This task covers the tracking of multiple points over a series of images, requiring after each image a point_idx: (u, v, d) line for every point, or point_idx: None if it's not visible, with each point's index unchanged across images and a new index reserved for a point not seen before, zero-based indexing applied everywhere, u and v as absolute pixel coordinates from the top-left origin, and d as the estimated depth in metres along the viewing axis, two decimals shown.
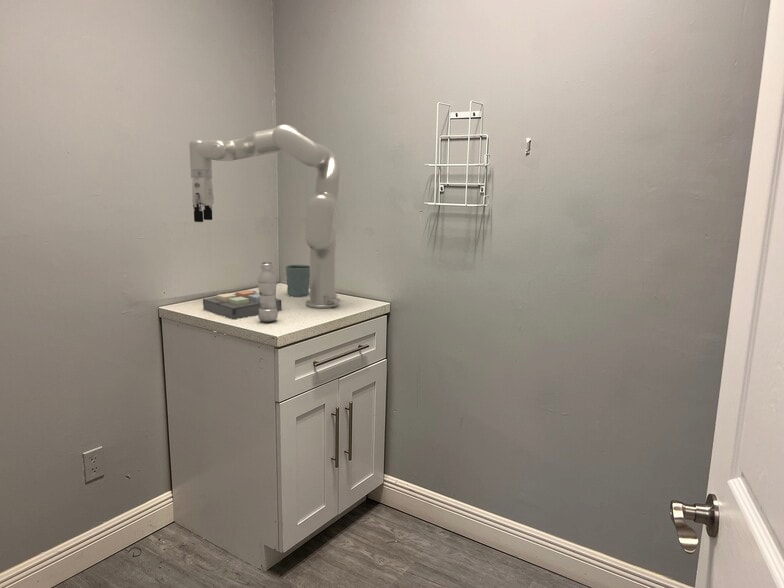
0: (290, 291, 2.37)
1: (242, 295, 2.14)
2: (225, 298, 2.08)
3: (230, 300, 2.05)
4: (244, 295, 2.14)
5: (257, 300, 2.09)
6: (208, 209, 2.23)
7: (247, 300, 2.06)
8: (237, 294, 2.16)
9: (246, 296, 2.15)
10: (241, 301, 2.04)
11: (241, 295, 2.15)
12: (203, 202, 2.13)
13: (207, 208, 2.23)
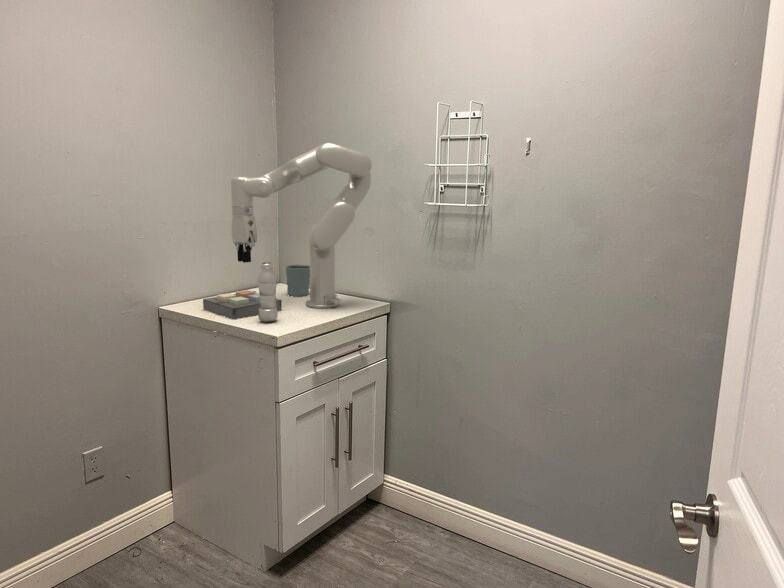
0: (290, 291, 2.37)
1: (242, 295, 2.14)
2: (225, 298, 2.08)
3: (230, 300, 2.05)
4: (244, 295, 2.14)
5: (257, 300, 2.09)
6: (243, 248, 2.15)
7: (247, 300, 2.06)
8: (237, 294, 2.16)
9: (246, 296, 2.15)
10: (241, 301, 2.04)
11: (241, 295, 2.15)
12: (256, 239, 2.11)
13: (241, 248, 2.15)
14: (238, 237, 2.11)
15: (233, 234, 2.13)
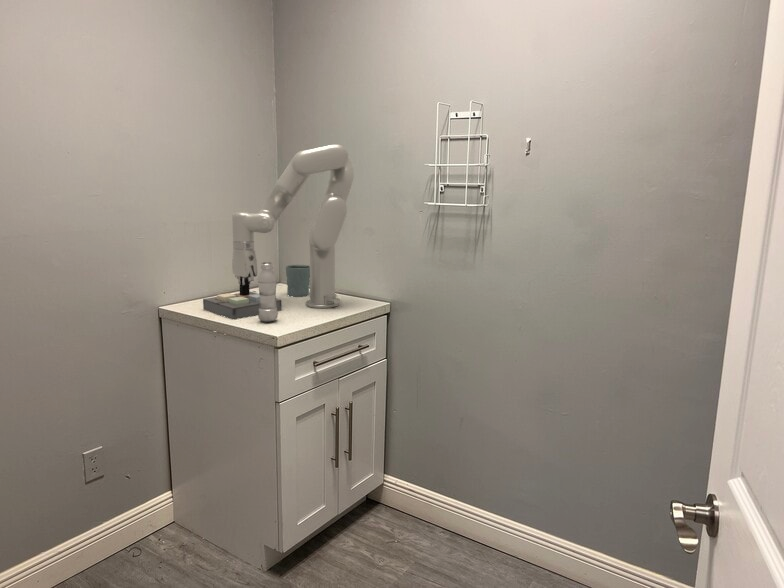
0: (290, 291, 2.37)
1: None
2: (225, 298, 2.08)
3: (230, 300, 2.05)
4: None
5: (257, 300, 2.09)
6: None
7: (247, 300, 2.06)
8: None
9: None
10: (241, 301, 2.04)
11: None
12: (256, 274, 2.14)
13: None
14: (239, 271, 2.14)
15: (234, 268, 2.16)
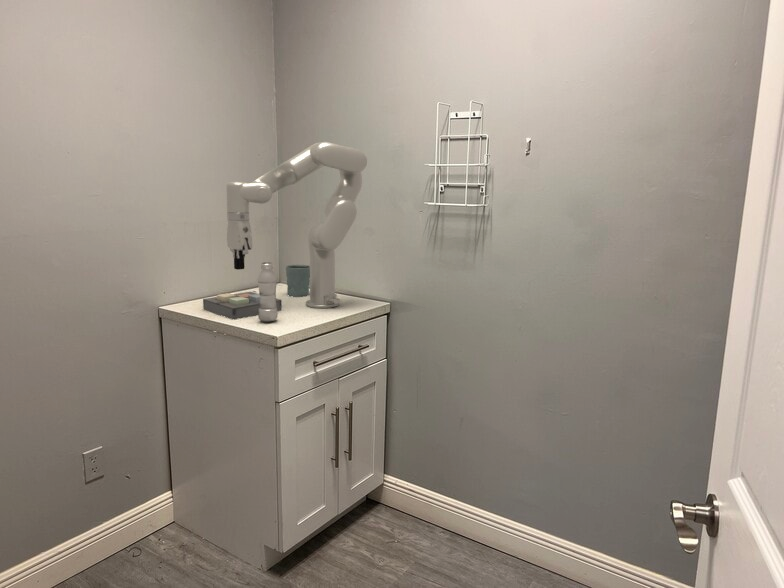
0: (290, 291, 2.37)
1: None
2: (225, 298, 2.08)
3: (230, 300, 2.05)
4: None
5: (257, 300, 2.09)
6: None
7: (247, 300, 2.06)
8: None
9: None
10: (241, 301, 2.04)
11: None
12: (251, 246, 2.05)
13: None
14: (233, 244, 2.05)
15: (228, 241, 2.07)
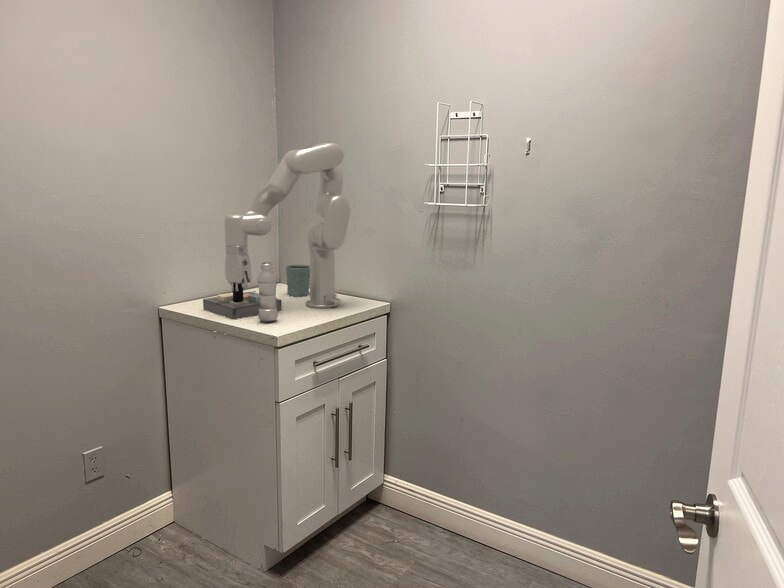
0: (290, 291, 2.37)
1: None
2: (225, 298, 2.08)
3: (230, 303, 2.05)
4: None
5: (257, 300, 2.09)
6: None
7: None
8: None
9: None
10: (241, 304, 2.04)
11: None
12: (250, 279, 2.03)
13: None
14: (232, 277, 2.03)
15: (227, 273, 2.05)
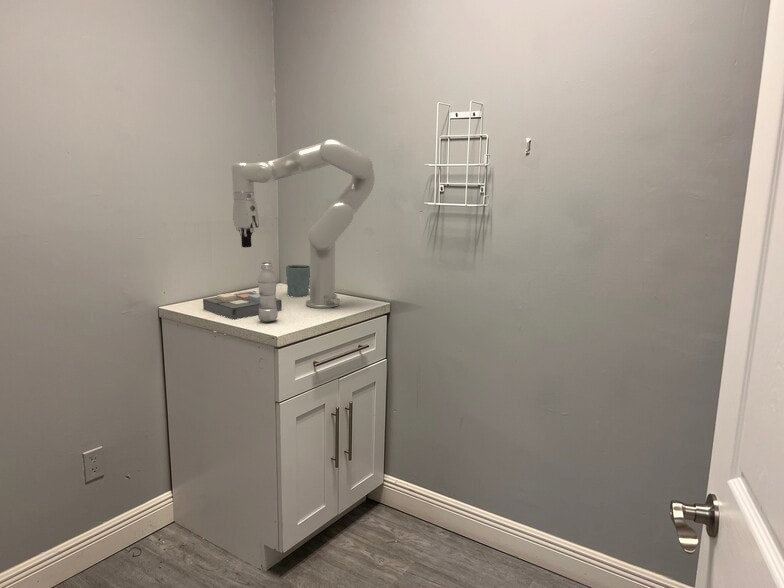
0: (290, 291, 2.37)
1: None
2: (225, 298, 2.08)
3: (230, 303, 2.05)
4: None
5: (257, 300, 2.09)
6: None
7: None
8: None
9: None
10: (241, 304, 2.04)
11: None
12: (258, 224, 2.13)
13: None
14: (240, 223, 2.13)
15: (235, 220, 2.15)
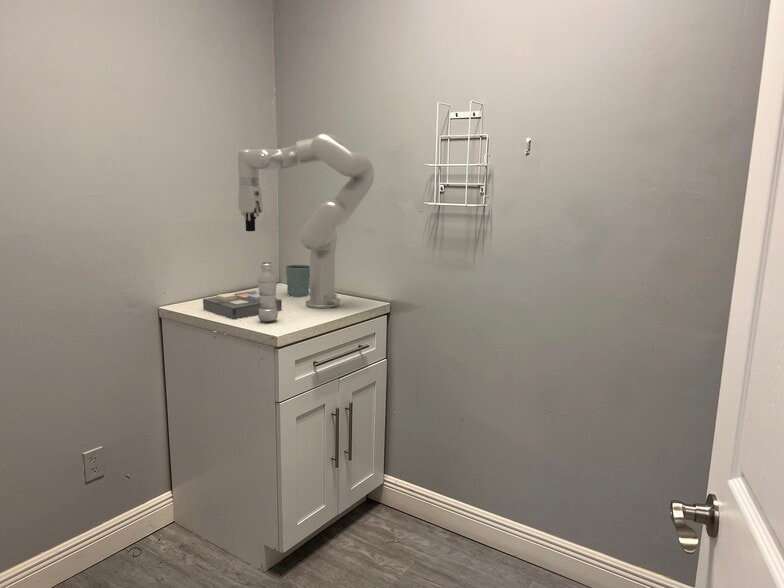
0: (290, 291, 2.37)
1: None
2: (225, 298, 2.08)
3: (230, 303, 2.05)
4: None
5: (257, 300, 2.09)
6: None
7: None
8: None
9: None
10: (241, 304, 2.04)
11: None
12: (261, 209, 2.22)
13: None
14: (244, 207, 2.22)
15: (240, 205, 2.24)
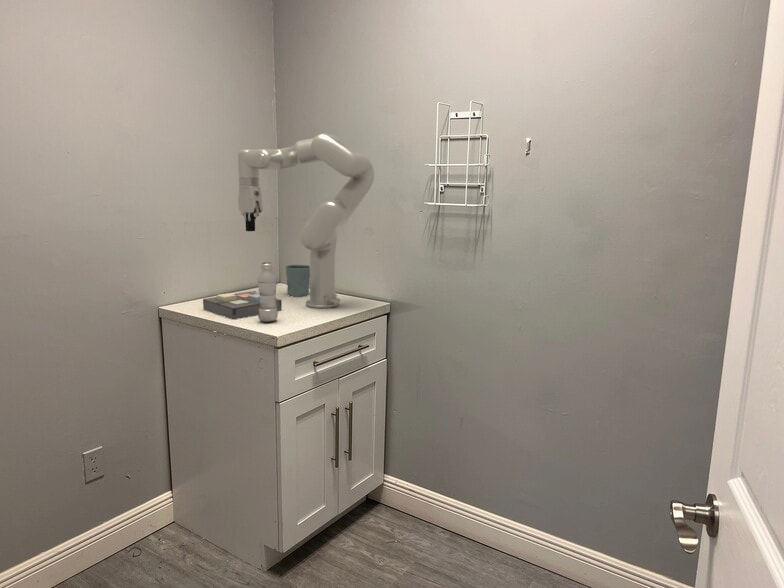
0: (290, 291, 2.37)
1: None
2: (225, 298, 2.08)
3: (230, 303, 2.05)
4: None
5: (257, 300, 2.09)
6: None
7: None
8: None
9: None
10: (241, 304, 2.04)
11: None
12: (261, 209, 2.22)
13: None
14: (244, 207, 2.22)
15: (240, 205, 2.24)
